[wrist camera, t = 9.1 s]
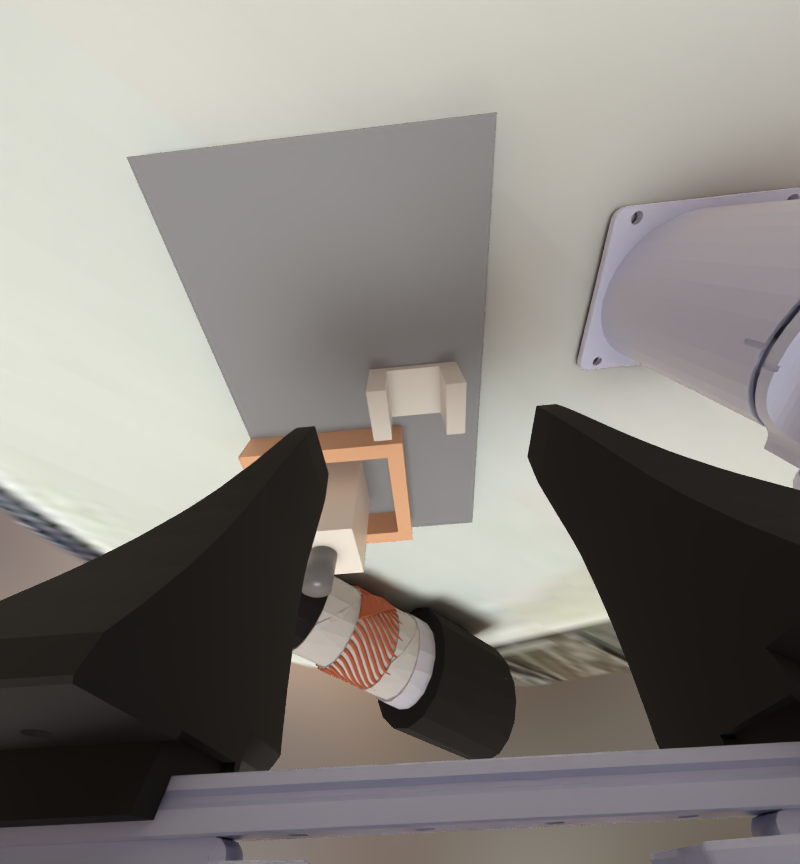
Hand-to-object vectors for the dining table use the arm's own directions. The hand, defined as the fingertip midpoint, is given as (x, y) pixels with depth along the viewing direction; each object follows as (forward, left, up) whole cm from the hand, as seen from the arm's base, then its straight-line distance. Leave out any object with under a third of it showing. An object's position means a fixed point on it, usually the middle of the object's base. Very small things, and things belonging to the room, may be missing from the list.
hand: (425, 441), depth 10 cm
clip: (0, +2, -9) cm, 10 cm away
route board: (+4, +3, -9) cm, 10 cm away
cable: (+7, +25, -10) cm, 28 cm away
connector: (+6, +9, -8) cm, 14 cm away
